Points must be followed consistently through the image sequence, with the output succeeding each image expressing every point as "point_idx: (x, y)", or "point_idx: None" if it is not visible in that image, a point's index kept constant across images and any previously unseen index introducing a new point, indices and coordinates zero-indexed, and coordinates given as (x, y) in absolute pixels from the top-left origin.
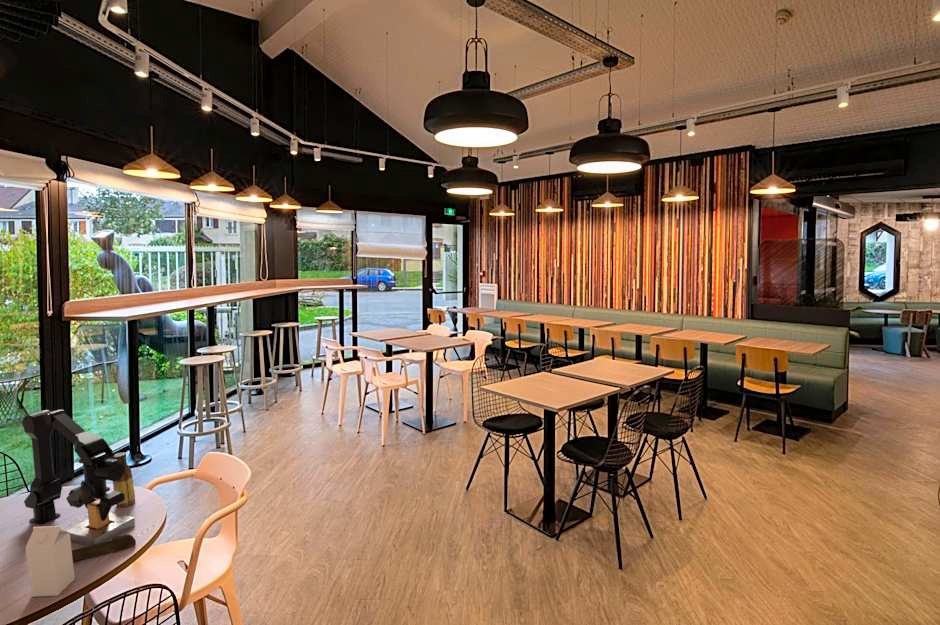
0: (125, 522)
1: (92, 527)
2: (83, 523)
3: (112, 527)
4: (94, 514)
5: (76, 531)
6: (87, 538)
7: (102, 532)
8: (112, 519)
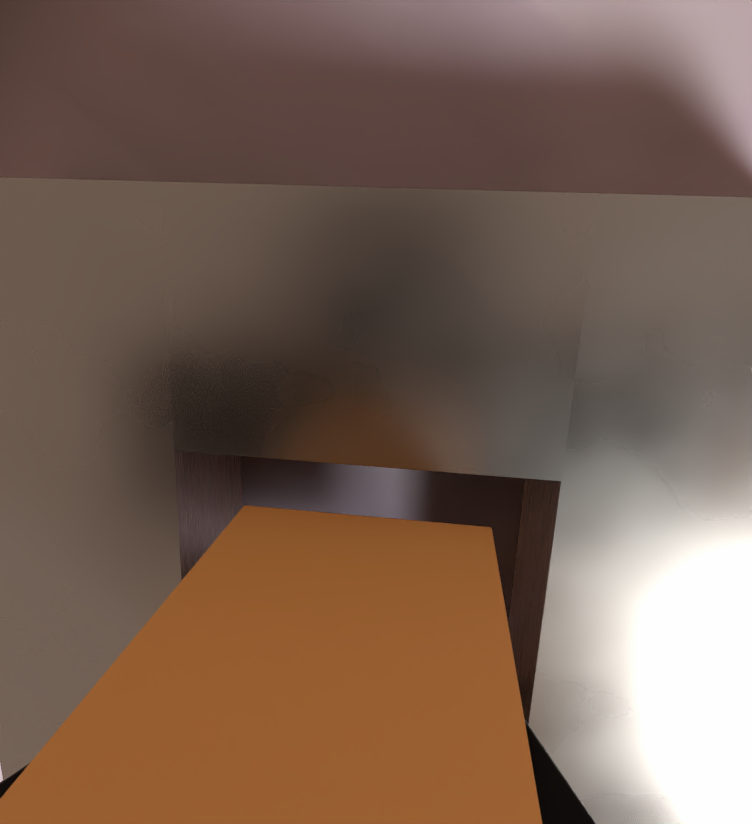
0: (2, 755)
1: (394, 519)
2: (732, 594)
3: (31, 595)
4: (146, 789)
5: (585, 299)
6: (116, 184)
7: (21, 421)
8: None
